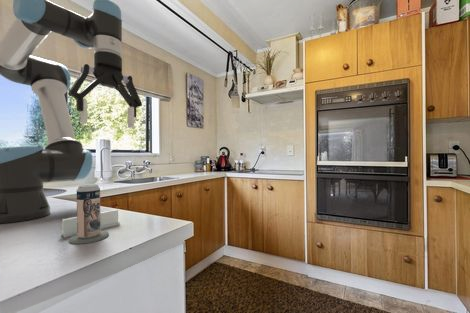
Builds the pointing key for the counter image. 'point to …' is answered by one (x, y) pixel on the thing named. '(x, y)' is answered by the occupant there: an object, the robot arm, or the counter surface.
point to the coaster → (89, 240)
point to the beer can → (88, 211)
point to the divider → (105, 217)
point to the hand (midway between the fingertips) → (109, 125)
